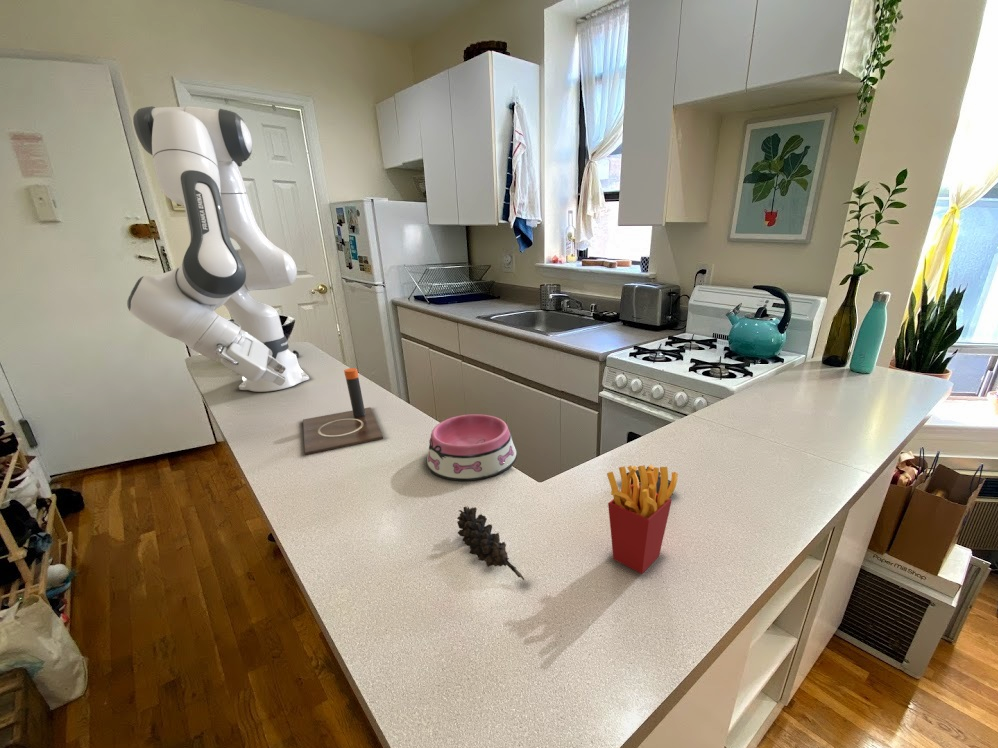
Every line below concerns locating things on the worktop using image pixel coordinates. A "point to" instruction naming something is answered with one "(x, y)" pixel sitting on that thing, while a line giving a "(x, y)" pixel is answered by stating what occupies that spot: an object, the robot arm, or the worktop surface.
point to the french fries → (639, 515)
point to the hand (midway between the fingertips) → (283, 376)
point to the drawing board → (339, 431)
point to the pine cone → (483, 539)
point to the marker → (355, 392)
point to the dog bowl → (470, 448)
